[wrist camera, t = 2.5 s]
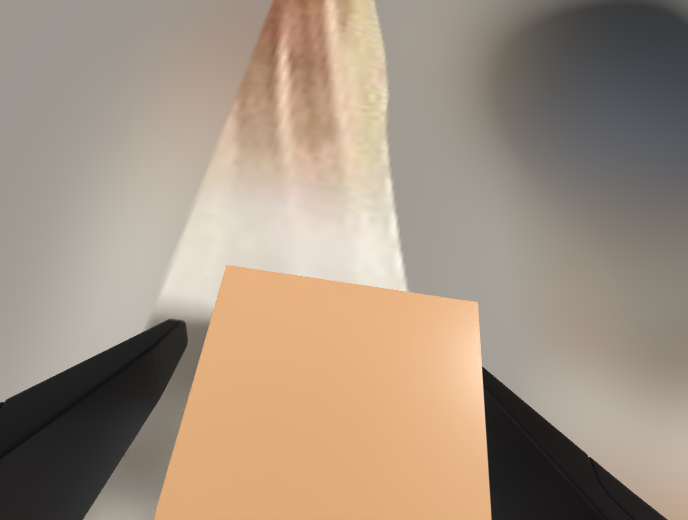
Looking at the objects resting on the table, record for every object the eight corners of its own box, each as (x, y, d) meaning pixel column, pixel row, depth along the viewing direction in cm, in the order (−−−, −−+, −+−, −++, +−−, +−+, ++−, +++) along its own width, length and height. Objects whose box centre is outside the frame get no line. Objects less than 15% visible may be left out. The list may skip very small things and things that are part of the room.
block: (345, 409, 14) (500, 661, 3) (272, 402, 14) (113, 656, 2) (353, 335, 15) (478, 302, 4) (287, 326, 15) (226, 264, 4)
